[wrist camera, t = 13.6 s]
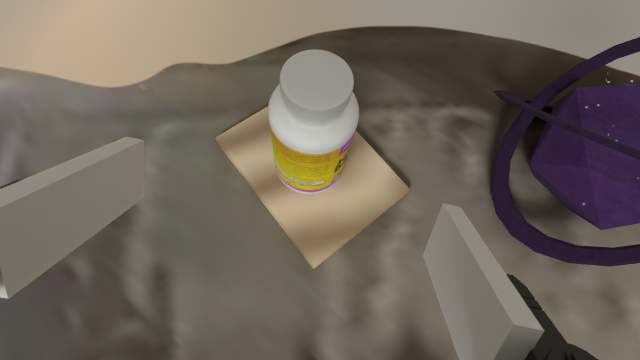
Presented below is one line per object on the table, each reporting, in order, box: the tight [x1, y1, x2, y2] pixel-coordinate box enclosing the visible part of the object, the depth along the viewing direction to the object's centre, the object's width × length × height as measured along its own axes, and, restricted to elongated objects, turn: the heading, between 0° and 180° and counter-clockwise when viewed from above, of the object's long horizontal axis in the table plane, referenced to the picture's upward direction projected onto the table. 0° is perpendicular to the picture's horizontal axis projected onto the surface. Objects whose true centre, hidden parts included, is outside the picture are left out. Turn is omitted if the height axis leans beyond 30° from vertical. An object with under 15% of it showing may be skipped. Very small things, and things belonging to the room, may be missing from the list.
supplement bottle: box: [268, 50, 359, 194], centre depth 26 cm, size 7×7×13 cm
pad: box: [215, 106, 411, 270], centre depth 33 cm, size 16×12×1 cm
